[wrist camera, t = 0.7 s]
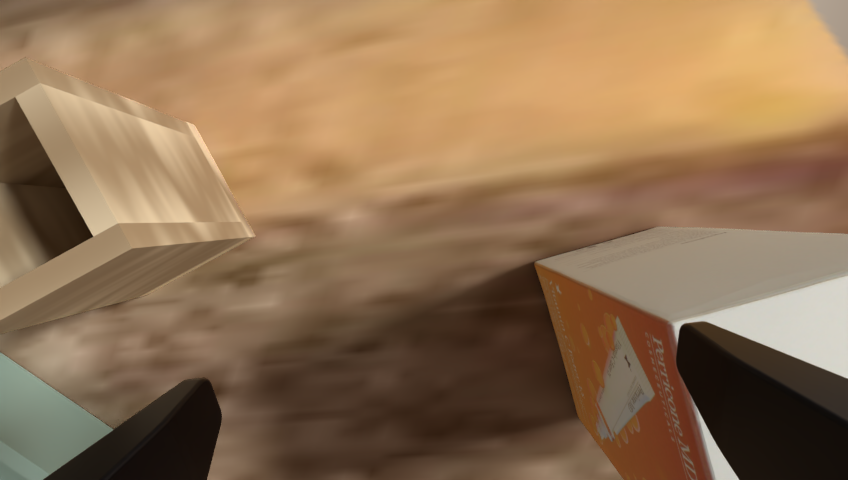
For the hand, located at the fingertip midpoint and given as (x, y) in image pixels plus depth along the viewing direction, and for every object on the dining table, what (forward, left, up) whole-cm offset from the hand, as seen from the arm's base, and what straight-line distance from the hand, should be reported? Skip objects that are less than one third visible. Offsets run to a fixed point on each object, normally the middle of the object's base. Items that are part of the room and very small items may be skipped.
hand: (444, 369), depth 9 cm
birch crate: (0, +13, -14) cm, 19 cm away
